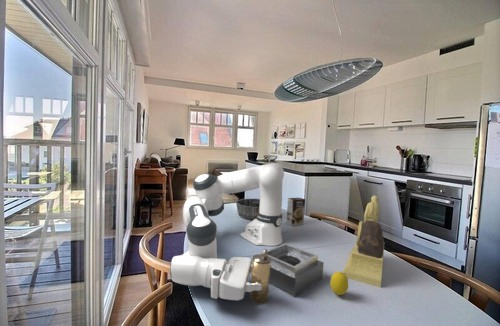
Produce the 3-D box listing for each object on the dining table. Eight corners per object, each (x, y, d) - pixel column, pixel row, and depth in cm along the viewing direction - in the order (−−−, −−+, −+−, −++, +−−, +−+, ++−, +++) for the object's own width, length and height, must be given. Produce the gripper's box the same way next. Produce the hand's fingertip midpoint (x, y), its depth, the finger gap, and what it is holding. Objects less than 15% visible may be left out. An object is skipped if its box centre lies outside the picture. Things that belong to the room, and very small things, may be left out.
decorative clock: (352, 251, 122) (357, 189, 120) (382, 258, 116) (388, 192, 114) (342, 277, 97) (348, 198, 95) (380, 287, 91) (388, 204, 89)
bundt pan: (226, 215, 173) (227, 200, 172) (255, 209, 191) (255, 196, 190) (254, 225, 154) (254, 209, 153) (282, 218, 172) (283, 203, 171)
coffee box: (292, 226, 156) (293, 199, 155) (285, 223, 162) (287, 197, 160) (304, 224, 160) (305, 199, 159) (297, 221, 166) (299, 197, 165)
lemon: (326, 290, 87) (328, 267, 87) (342, 290, 88) (344, 267, 87) (333, 300, 82) (335, 275, 81) (350, 300, 82) (352, 276, 82)
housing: (253, 275, 95) (254, 252, 94) (283, 261, 108) (284, 241, 107) (294, 297, 82) (296, 271, 82) (322, 278, 95) (324, 255, 95)
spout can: (246, 297, 81) (249, 248, 79) (258, 291, 85) (261, 243, 83) (260, 306, 77) (263, 254, 76) (271, 298, 81) (274, 249, 80)
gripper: (226, 267, 92) (264, 272, 91) (210, 301, 72) (259, 308, 70) (226, 250, 92) (265, 254, 90) (211, 280, 72) (260, 285, 70)
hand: (262, 278), depth 80 cm, fingers open, 8 cm apart
